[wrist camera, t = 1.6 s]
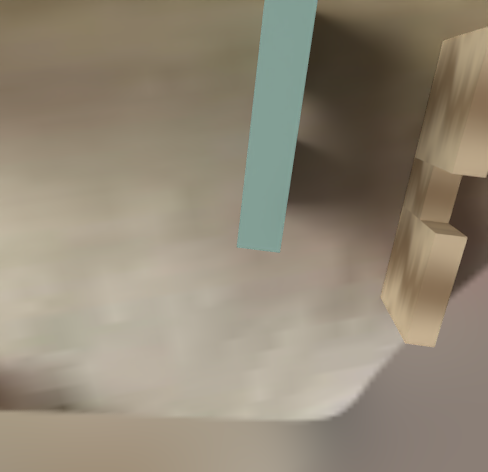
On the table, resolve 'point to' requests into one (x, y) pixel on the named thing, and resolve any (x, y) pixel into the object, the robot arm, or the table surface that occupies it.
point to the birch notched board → (439, 190)
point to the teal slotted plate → (275, 121)
